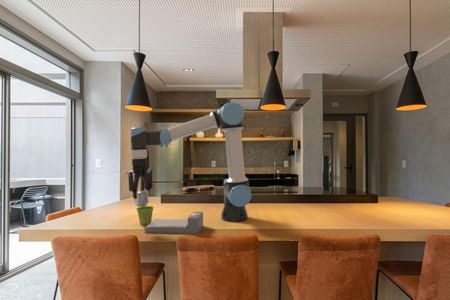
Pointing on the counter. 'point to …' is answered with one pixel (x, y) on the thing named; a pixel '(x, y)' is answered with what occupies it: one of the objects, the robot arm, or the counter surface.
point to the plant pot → (145, 214)
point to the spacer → (142, 198)
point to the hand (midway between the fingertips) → (141, 203)
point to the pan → (169, 223)
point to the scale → (193, 227)
